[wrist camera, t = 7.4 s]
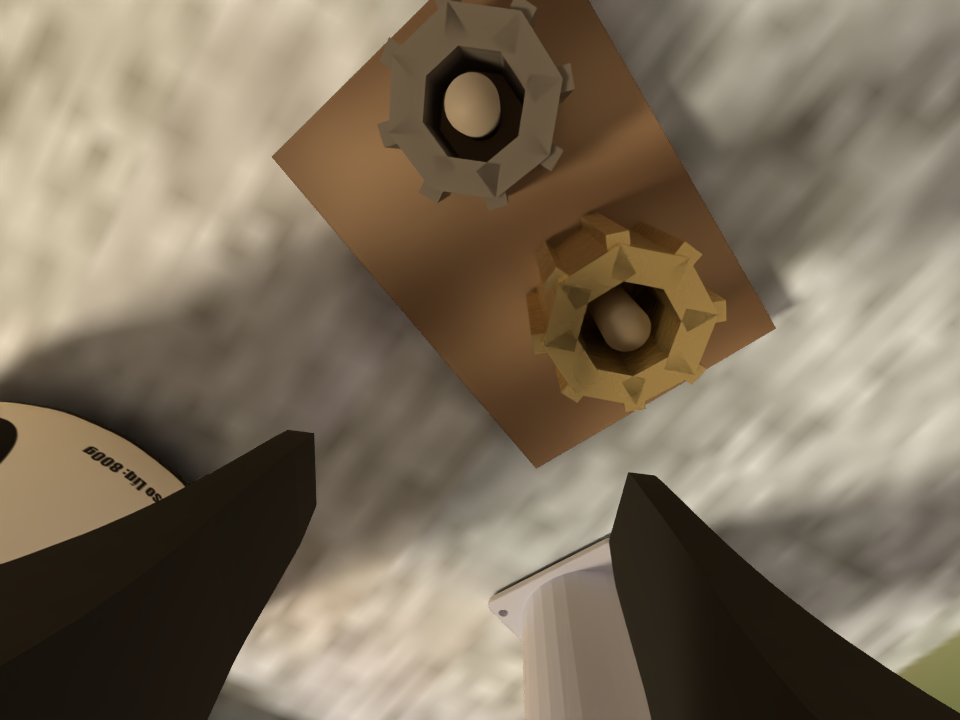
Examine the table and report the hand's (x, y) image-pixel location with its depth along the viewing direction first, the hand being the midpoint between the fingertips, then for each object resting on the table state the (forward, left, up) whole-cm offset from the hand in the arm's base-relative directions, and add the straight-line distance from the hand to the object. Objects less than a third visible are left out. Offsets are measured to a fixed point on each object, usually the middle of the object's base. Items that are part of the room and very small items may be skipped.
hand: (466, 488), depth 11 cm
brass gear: (0, -5, -9) cm, 10 cm away
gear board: (+2, -4, -10) cm, 11 cm away
